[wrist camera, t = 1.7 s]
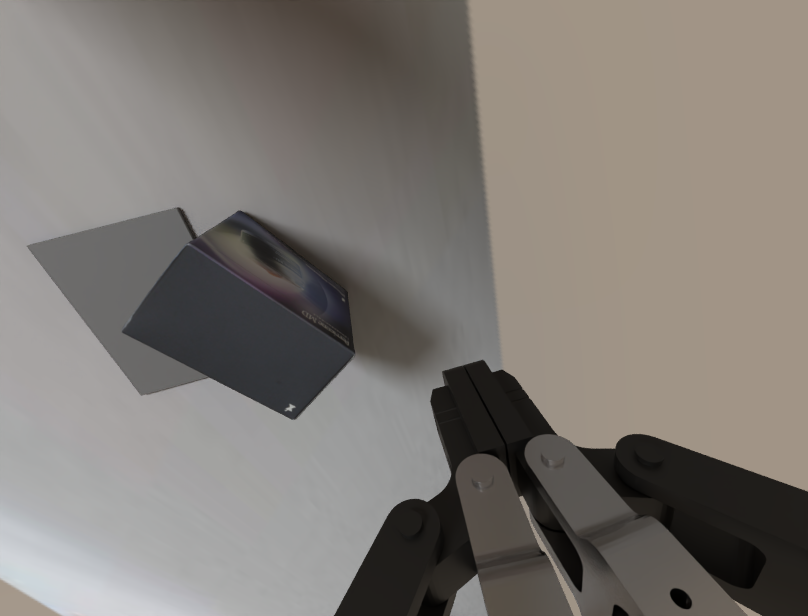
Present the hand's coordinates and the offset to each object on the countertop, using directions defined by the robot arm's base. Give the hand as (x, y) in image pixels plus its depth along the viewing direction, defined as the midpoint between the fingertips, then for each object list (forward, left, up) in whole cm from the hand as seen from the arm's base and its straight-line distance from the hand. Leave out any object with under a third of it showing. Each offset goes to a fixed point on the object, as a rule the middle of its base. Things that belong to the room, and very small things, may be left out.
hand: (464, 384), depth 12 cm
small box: (0, -10, -18) cm, 21 cm away
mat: (0, -20, -18) cm, 27 cm away
